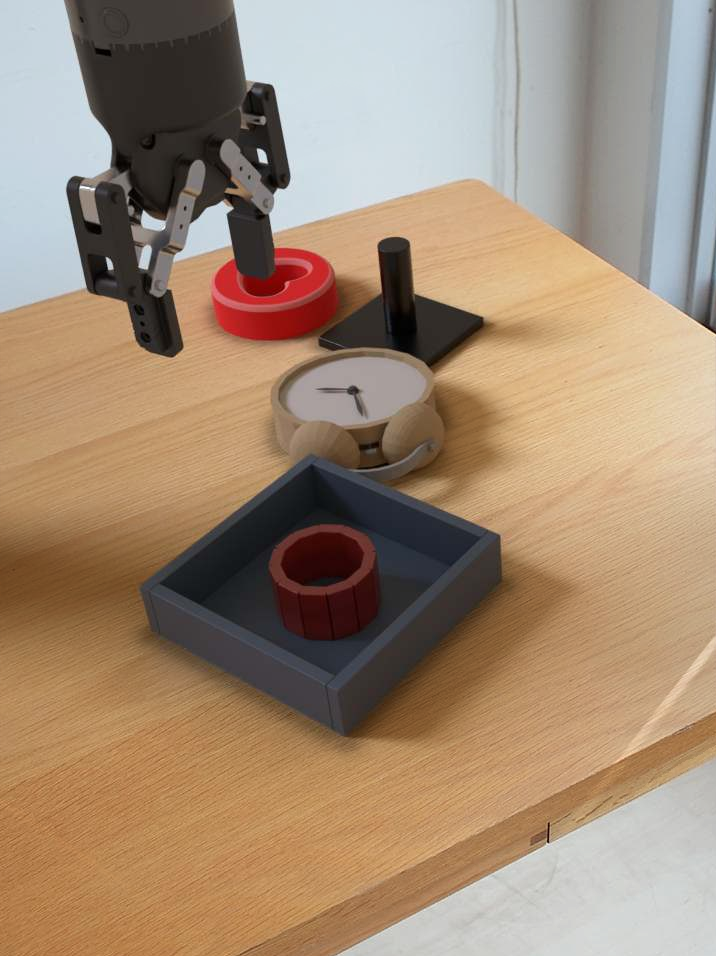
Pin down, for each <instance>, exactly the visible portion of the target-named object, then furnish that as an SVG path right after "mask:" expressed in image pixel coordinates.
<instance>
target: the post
mask: <svg viewBox="0 0 716 956" xmlns="http://www.w3.org/2000/svg"><path fill="white" fill-rule="evenodd" d="M376 246H377V247H376V249H377V257H378V267H379V268H378V269H379V278H380V286H381V287H380V288H381V293H379V294H377V296H375V297H374V298H372V299H371V300H369V301H368V302H366V303H365V304H364V305H363V306H361V307H359V308H358V309H356V310H354V312H352V313H351V314H349V315H348V316H346V317H345V318H344V319H342V320H340V321H339V322H338V323H336V324H335V325H333V326H332V327H330V328H329V329H327V330H326V331H325V332H323V333H322V334H321V335H319V336H318V337H317V340H318V341H317V342H318V346H319V347H321V348H323V349H325V350H326V349H327V350H329V351H330V352H333V351H337V350H343V349H353V348H381V349H390V350H394V351H398V352H403V353H407V354H409V355H411V356H413V357H415V358H417V359H419V360H421V361H423V362H424V363H425V364H426V365H427V366H428V368H429V369H431V368H432V367H433V366H434V365H436V364H437V363H438V362H440V360H442V359H443V358H444V357H446V356H447V355H448V354H450V353H451V352H453V351H454V350H455V349H456V348H458V347H459V346H460V345H461V344H463V343H464V342H465V341H466V340H468V339H469V338H470V337H472V336H473V335H474V334H475V333H477V332H478V331H479V330H480V329H482V328H483V327H484V326H485V322H484V321H485V320H484V316H482V315H478V314H475V313H472V312H470V311H466V310H463V309H461V308H457V307H455V306H452V305H449V304H446V303H443V302H440V301H437V300H434V299H431V298H428V297H425V296H422V295H420V294H416V293H415V287H414V286H415V285H414V273H413V260H412V259H413V258H412V250H411V249H412V248H411V242H410V241H409V239H407V238H405V237H402V236H390V237H389V236H388V237H385V238H382V239H381V240H379V242H378V243H377V245H376Z"/></svg>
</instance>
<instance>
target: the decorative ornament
mask: <svg viewBox="0 0 716 956" xmlns="http://www.w3.org/2000/svg"><path fill="white" fill-rule="evenodd" d="M274 248H275V257H274V261H275V268H276V270H275V273H274V274H272V275H271V276H270V277H269V278H267V279H266V280H262V279H258V278H253V277H249V276H245V275H242V274H241V273H240V272H239V271H238V270H237V268H236V264H235V258H234V257H233V258H231V259H230V260H228V261H226V262H225V263H224V264H223V265H222V266H220V267H219V268H218V269H217V270H216V272H214V275H213V277H212V278H211V281H210V285H209V286H210V293H211V299H212V304H213V308H214V314H215V318H216V322H217V324H218V325H219V327H220V328H221V329H222V330H224V331H225V332H227V333H228V334H231V335H232V336H235V337H239V338H242V339H246V340H251V341H267V342H268V341H282V340H288V339H293V338H294V339H295V338H297V337H301V336H304V335H306V334H309V333H311V332H313V331H315V330H317V329H319V328H321V327H323V326H324V325H325V324H327V323H328V322H329V321H331V320H332V318H333V317H334V315H336V312H337V310H338V307H339V298H338V290H337V289H338V288H337V281H336V274H335V270H334V268H333V265H332V264H331V263H330V262H329V261H328V260H327V259H326V258H324V257H323V256H322V255H320V254H318V253H316V252H314V251H310V250H308V249H301V248H295V247H274Z"/></svg>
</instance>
